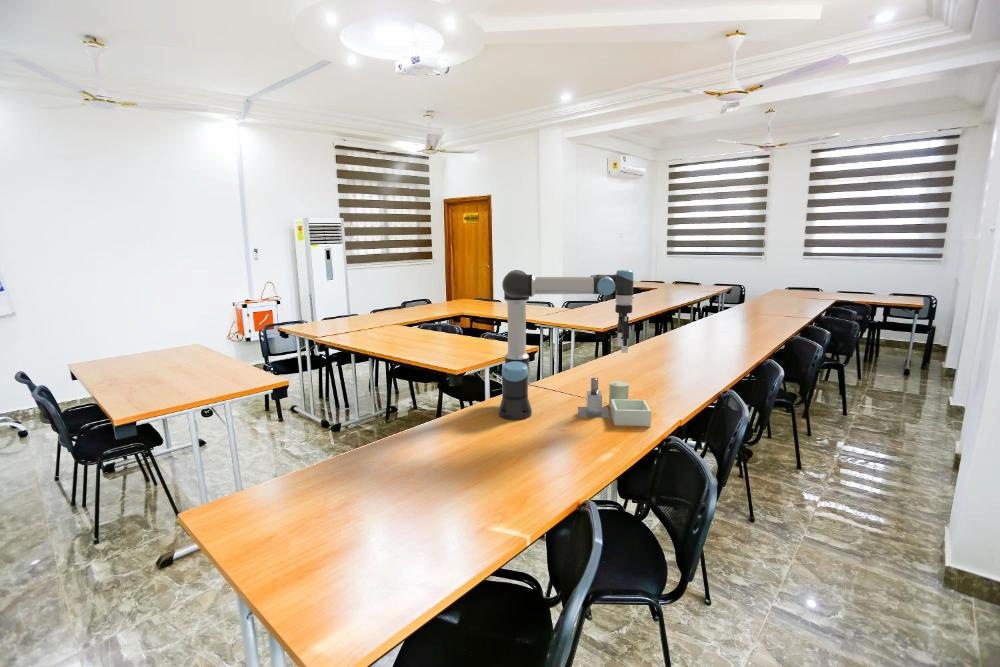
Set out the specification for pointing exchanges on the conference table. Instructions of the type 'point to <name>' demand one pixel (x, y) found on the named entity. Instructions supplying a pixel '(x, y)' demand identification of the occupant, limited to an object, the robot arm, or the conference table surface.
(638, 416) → the bin
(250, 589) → the conference table surface
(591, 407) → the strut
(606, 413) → the stud plate
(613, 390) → the can
